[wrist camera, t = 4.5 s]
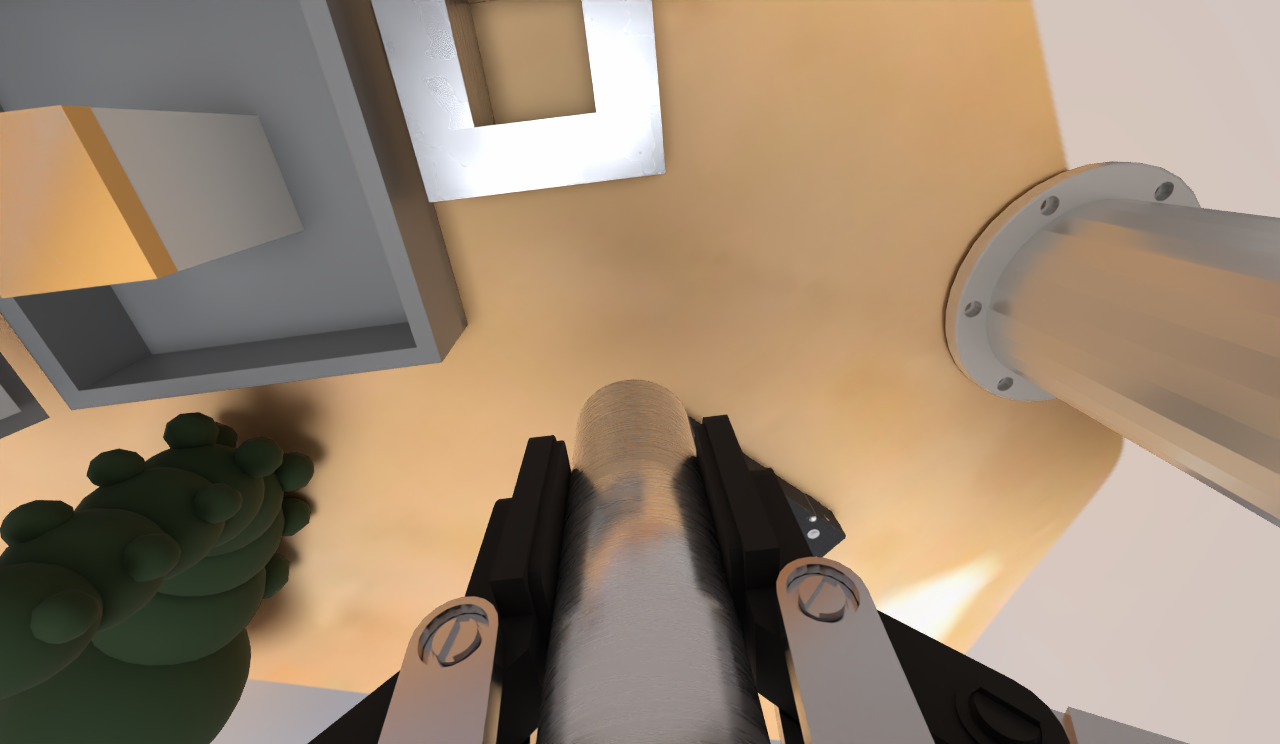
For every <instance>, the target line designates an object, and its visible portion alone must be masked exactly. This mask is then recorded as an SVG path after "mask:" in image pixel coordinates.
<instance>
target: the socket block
mask: <svg viewBox="0 0 1280 744" xmlns="http://www.w3.org/2000/svg"><path fill="white" fill-rule="evenodd" d="M484 1H493V0H371V2H372V5H373V8H374V12H375V15H376V19H377V22H378V26H379V29H380V33H381V36H382V40H383V43H384V47H385V50H386V54H387V57H388V61H389V64H390V68H391V71H392V75H393V78H394V82H395V85H396V89H397V92H398V96H399V99H400V103H401V106H402V110H403V113H404V116H405V120H406V123H407V127H408V130H409V134H410V137H411V141H412V144H413V148H414V151H415V155H416V158H417V162H418V165H419V169H420V172H421V176H422V179H423V183H424V186H425V190H426V193H427V197H428V200H429V203H430V202H438V201H446V200H454V199H462V198H470V197H478V196H486V195H494V194H502V193H510V192H518V191H526V190H535V189H543V188H551V187H559V186H567V185H575V184H583V183H591V182H599V181H607V180H615V179H623V178H631V177H639V176H647V175H655V174H663V173H665V161H664V148H663V136H662V123H661V111H660V99H659V86H658V74H657V61H656V49H655V37H654V24H653V12H652V0H582V7H583V15H584V22H585V30H586V37H587V45H588V52H589V60H590V68H591V75H592V83H593V90H594V98H595V105H596V113H589V114H580V115H572V116H564V117H556V118H548V119H540V120H531V121H523V122H515V123H507V124H499V125H495V122H494V118H493V113H492V108H491V104H490V99H489V94H488V90H487V85H486V81H485V76H484V71H483V67H482V62H481V57H480V53H479V48H478V43H477V39H476V34H475V30H474V25H473V20H472V16H471V11H470V6H469V3H476V2H484Z"/></svg>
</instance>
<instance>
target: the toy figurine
mask: <svg viewBox="0 0 1280 744" xmlns="http://www.w3.org/2000/svg"><path fill="white" fill-rule="evenodd" d="M163 438H164V440H165V441H166V442H167V444H168V445H169V447H170V449H168V450H165V451H163V452H161V453H159V454H157V455H155V456H153V457H151V458H150V459H148V460H147V461H144V458H142V457H141V456H140V455H139V454H137V453H136V452H132V451H128V450H123V449H115V450H111V451H107V452H103V453H100V454H99V455H98V456H97V457H95V458H94V459H93V460H92V461H90V465H89V468H88V472H87V477H88V478H89V479H90V481H91V482H92V483H93V484H94V485H97V486H99V488H98V489H96V490H95V491H93V492H92V493H91V494H89V495H88V496H87V497H85V498H84V499H83V500H82V501H81V503H80V504H79V505H78V506H77V508H76V509H75V510H73V507H71V506H70V505H68V504H66V503H64V502H62V501H52V500H35V501H32V502H29V503H26V504H23V505H21V506H19V507H17V508H16V509H14V510H12V511H11V512H10V513H9V514H8V515H7V516H6V517H5V519H4V520H3V522H2V525H1V528H0V533H1V538H2V539H3V540H4V541H5V542H6V543H7V544H8V546H9V547H8V548H6V549H5V551H4V552H3V553H2V555H1V556H0V744H210V743H211V742H212V741H213V740H214V738H215V737H216V736H217V735H218V733H219V732H220V731H221V730H222V728H223V727H224V725H225V724H226V722H227V720H228V719H229V717H230V716H231V714H232V712H233V710H234V708H235V707H236V705H237V703H238V701H239V700H240V697H241V694H242V692H243V689H244V687H245V684H246V681H247V678H248V674H249V668H250V659H251V647H250V642H249V637H248V634H247V631H246V629H245V627H246V626H247V625H248V623H249V622H250V620H251V619H252V617H253V616H254V615H255V613H256V611H257V609H258V607H259V605H260V603H261V601H262V599H265V598H269V597H271V596H272V595H274V594H275V593H276V592H278V591H279V590H280V589H281V588H282V587H283V586H284V585H285V583H286V582H287V581H288V576H289V561H288V560H287V559H286V558H285V557H284V556H283V555H280V554H277V553H275V552H276V550H277V549H278V547H279V544H280V540H281V536H293V535H294V534H295V533H297V532H298V531H299V530H301V529H302V528H303V527H304V526H306V525H307V524H308V523H309V520H310V513H311V512H310V509H309V506H308V505H307V504H306V503H305V502H304V501H303V500H299V499H294V498H286V499H283V496H284V495H283V491H284V492H290V491H294V490H298V489H300V488H303V487H305V486H306V485H307V484H308V482H309V481H310V479H311V478H312V476H313V473H314V464H313V462H312V460H311V459H310V458H309V457H308V456H306V455H303V454H300V453H297V452H292V453H284V454H283V452H284V451H283V450H282V449H281V448H280V447H279V445H278V444H277V443H276V442H275V441H273V440H270V439H267V438H264V437H260V438H256V439H252V440H248V441H246V442H244V443H243V444H242V445H241V446H240V447H239V448H235V447H236V441H237V434H236V432H235V431H234V430H233V429H232V428H231V427H228V426H226V425H223V424H221V423H218V422H215V421H214V420H213V418H211V417H209V416H206V415H204V414H201V413H199V412H197V413H186V414H179V415H178V416H177V417H175V418H174V419H172V420H171V421H169V422H168V423H167V424H166V428H165V432H164V436H163Z"/></svg>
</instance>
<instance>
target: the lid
mask: <svg viewBox="0 0 1280 744" xmlns="http://www.w3.org/2000/svg"><path fill="white" fill-rule="evenodd" d="M47 418H50V417H49V416H48V415H47V413H46V412H45V411H44V409H43V408H42V407H41V405H40V404H39V403H38V401H37V400H36V399H35V397H34V396H33V395H32V393H31V392H30V391H29V390H28V388H27V387H26V386H25V384H24V383H23V382H22V380H21V379H20V378H19V376H18V375H17V374H16V372H15V371H14V370H13V368H12V367H11V366H10V364H9V363H8V362H7V360H6V359H5V358H4V356H3V355H2V354H1V352H0V439H1V438H3V437H6V436H8V435H10V434H12V433H15V432H17V431H19V430H22V429H24V428H26V427H29V426H31V425H33V424H36V423H38V422H40V421H43V420H45V419H47Z"/></svg>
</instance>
